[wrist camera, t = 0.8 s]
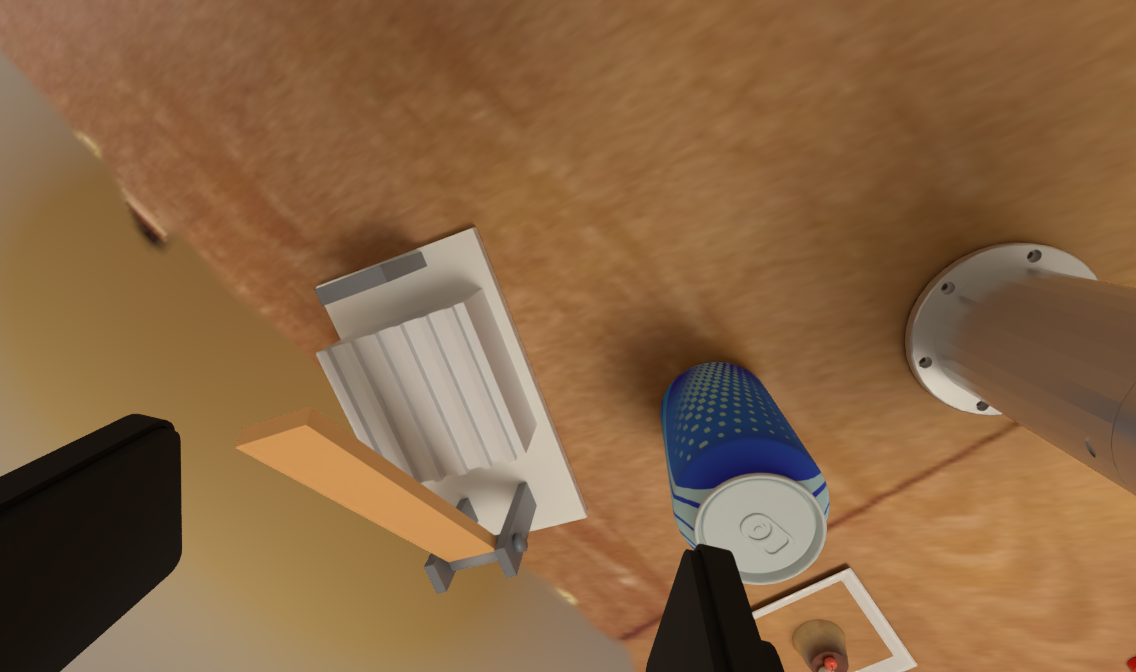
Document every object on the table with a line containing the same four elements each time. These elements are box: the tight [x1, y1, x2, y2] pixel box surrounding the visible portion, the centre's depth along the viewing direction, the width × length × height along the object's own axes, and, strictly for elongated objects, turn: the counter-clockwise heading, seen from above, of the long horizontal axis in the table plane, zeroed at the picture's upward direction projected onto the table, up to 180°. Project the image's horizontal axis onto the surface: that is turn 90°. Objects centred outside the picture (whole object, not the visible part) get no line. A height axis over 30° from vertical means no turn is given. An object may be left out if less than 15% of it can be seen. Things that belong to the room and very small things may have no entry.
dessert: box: [752, 568, 917, 672], centre depth 45 cm, size 12×12×5 cm
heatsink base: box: [314, 227, 588, 593], centre depth 40 cm, size 26×14×10 cm, turn 20°
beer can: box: [661, 362, 829, 585], centre depth 34 cm, size 8×8×16 cm
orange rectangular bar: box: [235, 406, 500, 571], centre depth 32 cm, size 21×4×2 cm
